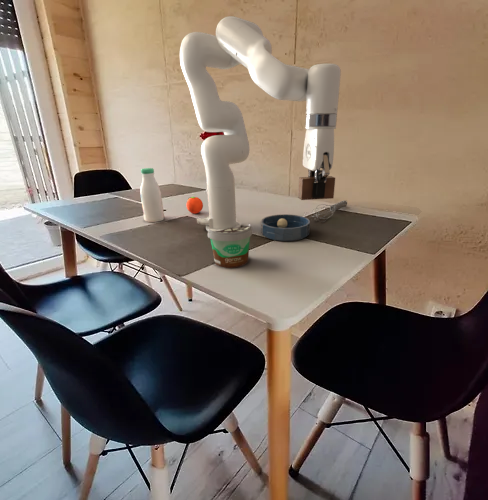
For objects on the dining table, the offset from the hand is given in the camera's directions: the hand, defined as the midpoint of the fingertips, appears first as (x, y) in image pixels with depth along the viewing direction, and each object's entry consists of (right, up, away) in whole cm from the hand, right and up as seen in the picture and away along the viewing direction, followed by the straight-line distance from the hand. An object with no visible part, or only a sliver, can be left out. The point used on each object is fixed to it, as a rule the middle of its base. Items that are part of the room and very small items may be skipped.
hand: (315, 195), depth 84 cm
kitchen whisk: (+15, 0, +44) cm, 46 cm away
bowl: (-6, -9, +22) cm, 25 cm away
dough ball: (-7, -6, +25) cm, 26 cm away
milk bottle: (-57, -3, +41) cm, 70 cm away
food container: (-22, -19, 0) cm, 29 cm away
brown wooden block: (0, -1, 0) cm, 1 cm away
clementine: (-42, +1, +49) cm, 65 cm away
